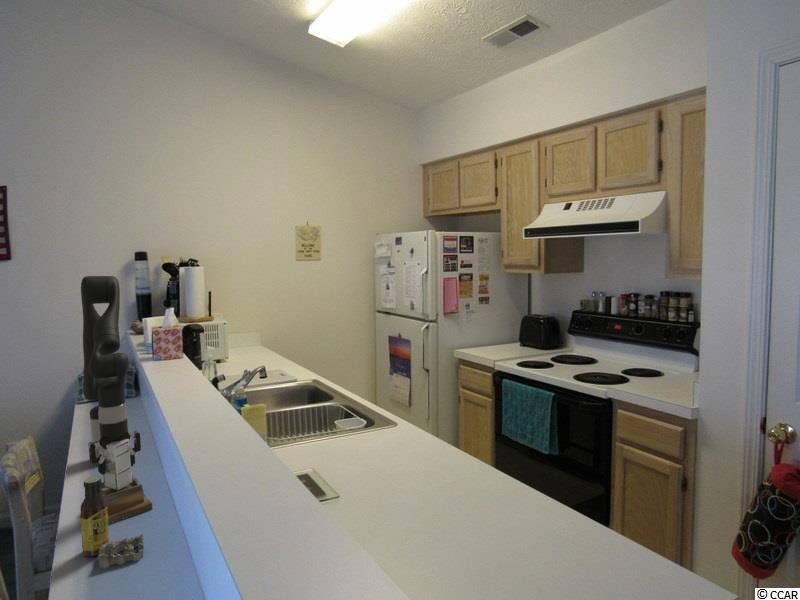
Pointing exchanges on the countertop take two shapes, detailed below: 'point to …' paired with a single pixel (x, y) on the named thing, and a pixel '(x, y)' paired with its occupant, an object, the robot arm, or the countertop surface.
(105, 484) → the syrup box
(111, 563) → the egg carton
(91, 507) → the sauce bottle
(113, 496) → the stand
